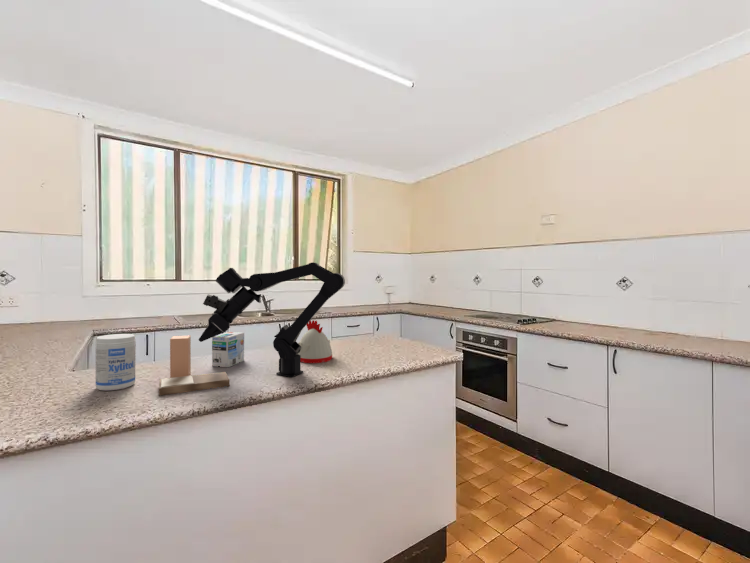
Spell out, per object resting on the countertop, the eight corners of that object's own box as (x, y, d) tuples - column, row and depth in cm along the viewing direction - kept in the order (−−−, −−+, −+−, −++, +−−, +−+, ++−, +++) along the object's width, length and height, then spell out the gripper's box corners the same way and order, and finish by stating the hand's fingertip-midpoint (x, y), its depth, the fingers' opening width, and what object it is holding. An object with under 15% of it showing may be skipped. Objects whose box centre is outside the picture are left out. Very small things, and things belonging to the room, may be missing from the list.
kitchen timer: (314, 353, 153) (314, 317, 152) (339, 358, 145) (339, 320, 144) (288, 359, 142) (288, 320, 141) (314, 365, 134) (314, 324, 133)
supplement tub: (111, 393, 101) (111, 340, 101) (87, 389, 104) (86, 337, 103) (143, 383, 110) (143, 334, 110) (120, 379, 113) (119, 332, 113)
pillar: (190, 375, 119) (190, 335, 119) (188, 379, 114) (188, 338, 114) (173, 376, 117) (173, 336, 117) (170, 381, 113) (170, 338, 112)
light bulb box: (228, 367, 128) (228, 337, 128) (211, 366, 130) (211, 336, 129) (245, 360, 139) (245, 332, 138) (228, 359, 140) (229, 331, 140)
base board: (225, 378, 117) (225, 371, 116) (229, 386, 109) (229, 378, 109) (159, 386, 108) (159, 378, 108) (158, 395, 100) (158, 387, 100)
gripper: (221, 284, 127) (185, 317, 124) (217, 287, 110) (175, 325, 106) (245, 306, 130) (211, 339, 127) (245, 313, 113) (205, 350, 109)
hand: (201, 338), depth 117 cm, fingers open, 9 cm apart
